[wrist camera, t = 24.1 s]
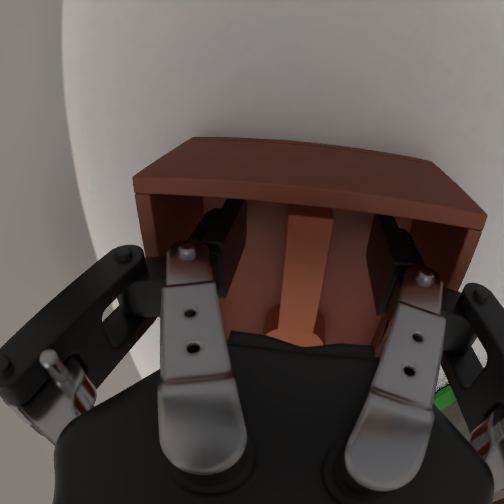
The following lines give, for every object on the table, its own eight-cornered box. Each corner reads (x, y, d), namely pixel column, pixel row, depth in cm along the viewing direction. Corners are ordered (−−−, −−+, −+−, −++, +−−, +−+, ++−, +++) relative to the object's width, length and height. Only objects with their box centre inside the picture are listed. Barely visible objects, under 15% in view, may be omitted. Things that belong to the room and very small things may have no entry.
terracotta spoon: (271, 189, 14) (263, 211, 12) (351, 197, 13) (357, 221, 11) (263, 340, 19) (257, 369, 17) (320, 346, 19) (318, 377, 17)
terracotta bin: (192, 136, 14) (131, 176, 9) (432, 161, 12) (488, 214, 7) (210, 344, 21) (186, 409, 17) (367, 362, 20) (370, 432, 15)
